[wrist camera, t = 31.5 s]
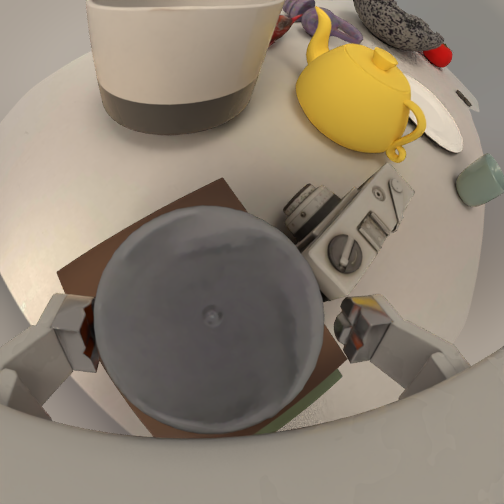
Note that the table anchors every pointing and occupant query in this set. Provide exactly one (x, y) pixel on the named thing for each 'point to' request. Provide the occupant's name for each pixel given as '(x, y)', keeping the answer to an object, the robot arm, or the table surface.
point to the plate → (435, 117)
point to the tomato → (439, 55)
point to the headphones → (303, 3)
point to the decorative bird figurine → (282, 27)
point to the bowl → (397, 25)
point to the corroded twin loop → (463, 98)
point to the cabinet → (95, 260)
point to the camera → (346, 227)
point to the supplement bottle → (209, 319)
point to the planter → (178, 59)
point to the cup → (480, 182)
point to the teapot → (357, 95)
